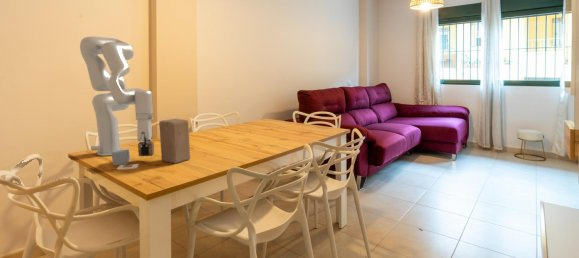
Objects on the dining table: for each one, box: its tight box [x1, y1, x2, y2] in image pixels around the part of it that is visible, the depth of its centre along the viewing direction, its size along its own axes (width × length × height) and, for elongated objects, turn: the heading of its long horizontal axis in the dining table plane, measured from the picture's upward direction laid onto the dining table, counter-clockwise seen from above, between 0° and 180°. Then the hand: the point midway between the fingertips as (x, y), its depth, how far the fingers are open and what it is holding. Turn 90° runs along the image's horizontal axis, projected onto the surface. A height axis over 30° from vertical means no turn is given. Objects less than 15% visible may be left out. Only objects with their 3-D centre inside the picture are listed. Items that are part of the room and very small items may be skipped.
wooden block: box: [158, 118, 191, 165], centre depth 157 cm, size 10×10×20 cm
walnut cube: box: [137, 140, 155, 157], centre depth 156 cm, size 6×6×6 cm
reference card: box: [116, 163, 140, 170], centre depth 147 cm, size 8×5×1 cm, turn 102°
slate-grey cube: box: [111, 148, 131, 166], centre depth 154 cm, size 6×6×6 cm
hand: (146, 152), depth 157 cm, fingers closed on walnut cube, 6 cm apart
